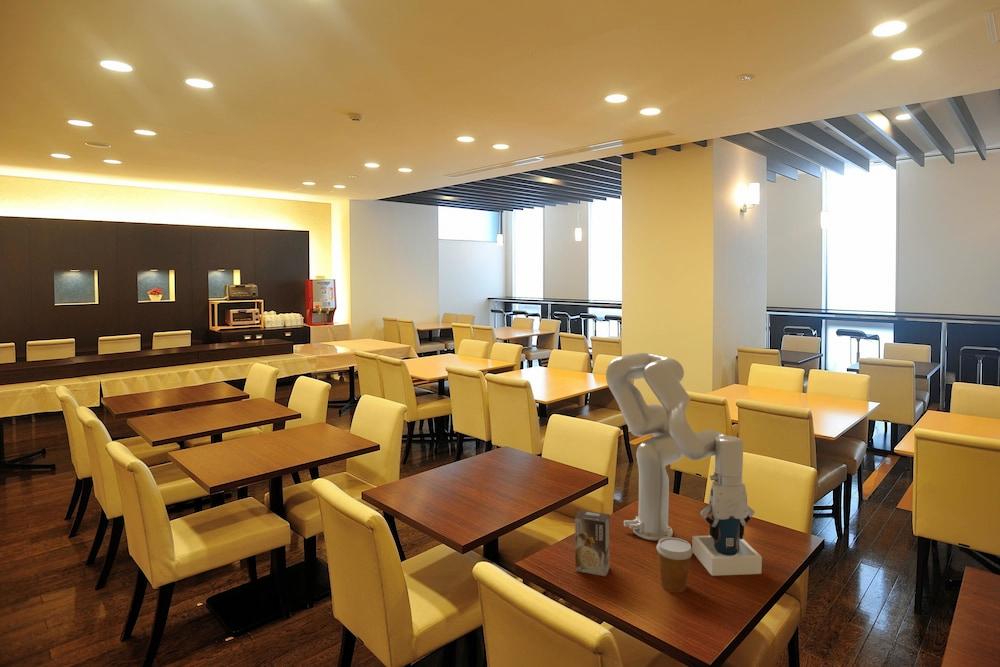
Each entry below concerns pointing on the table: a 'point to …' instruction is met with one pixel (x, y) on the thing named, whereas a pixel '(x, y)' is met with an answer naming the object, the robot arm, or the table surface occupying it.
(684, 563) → the disposable coffee cup
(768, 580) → the table surface
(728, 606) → the table surface
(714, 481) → the robot arm
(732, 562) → the walled box
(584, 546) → the coffee box
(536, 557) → the table surface
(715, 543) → the soda can
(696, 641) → the table surface
